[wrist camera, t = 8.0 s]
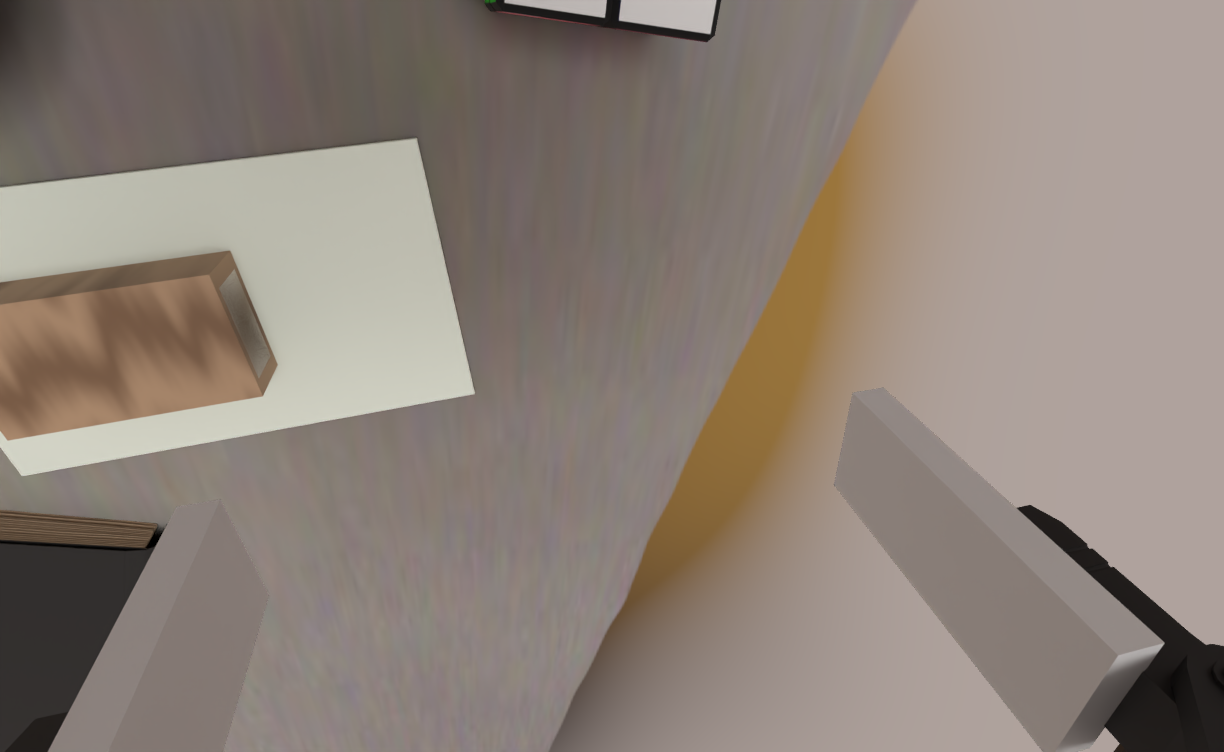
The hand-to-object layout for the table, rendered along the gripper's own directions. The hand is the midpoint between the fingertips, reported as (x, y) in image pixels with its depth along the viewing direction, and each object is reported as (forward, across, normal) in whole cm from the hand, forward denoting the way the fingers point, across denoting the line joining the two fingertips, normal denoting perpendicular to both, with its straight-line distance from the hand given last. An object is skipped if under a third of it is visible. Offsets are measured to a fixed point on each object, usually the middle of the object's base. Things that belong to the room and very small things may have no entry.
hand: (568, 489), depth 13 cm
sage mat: (+30, -19, -8) cm, 36 cm away
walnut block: (+28, -16, -8) cm, 33 cm away
